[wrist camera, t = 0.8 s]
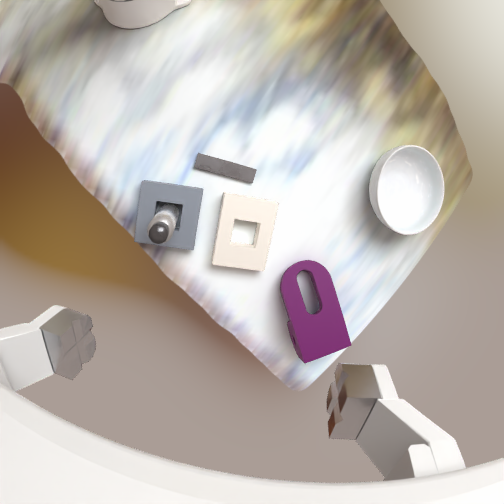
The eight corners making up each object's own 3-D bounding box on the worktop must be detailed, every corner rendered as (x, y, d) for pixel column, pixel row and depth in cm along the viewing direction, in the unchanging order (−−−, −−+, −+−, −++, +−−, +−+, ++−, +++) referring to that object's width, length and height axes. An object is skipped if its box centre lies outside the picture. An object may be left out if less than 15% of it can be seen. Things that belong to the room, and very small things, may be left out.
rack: (223, 191, 51) (225, 193, 48) (275, 201, 53) (278, 203, 50) (211, 259, 54) (212, 264, 51) (261, 266, 56) (264, 271, 53)
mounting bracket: (270, 272, 63) (296, 354, 61) (275, 269, 55) (304, 363, 52) (312, 259, 64) (337, 339, 62) (323, 253, 55) (351, 345, 53)
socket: (144, 180, 48) (141, 181, 45) (203, 188, 50) (203, 189, 47) (137, 238, 50) (134, 241, 48) (193, 246, 52) (193, 250, 50)
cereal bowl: (393, 128, 52) (415, 126, 46) (433, 187, 58) (455, 192, 51) (342, 186, 54) (360, 190, 47) (389, 243, 59) (408, 253, 53)
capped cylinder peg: (160, 202, 49) (146, 218, 35) (180, 204, 50) (173, 222, 36) (157, 221, 50) (143, 245, 36) (177, 224, 51) (170, 249, 37)
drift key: (194, 167, 49) (194, 167, 48) (198, 153, 48) (198, 153, 47) (251, 182, 51) (252, 183, 50) (255, 169, 51) (256, 169, 50)
